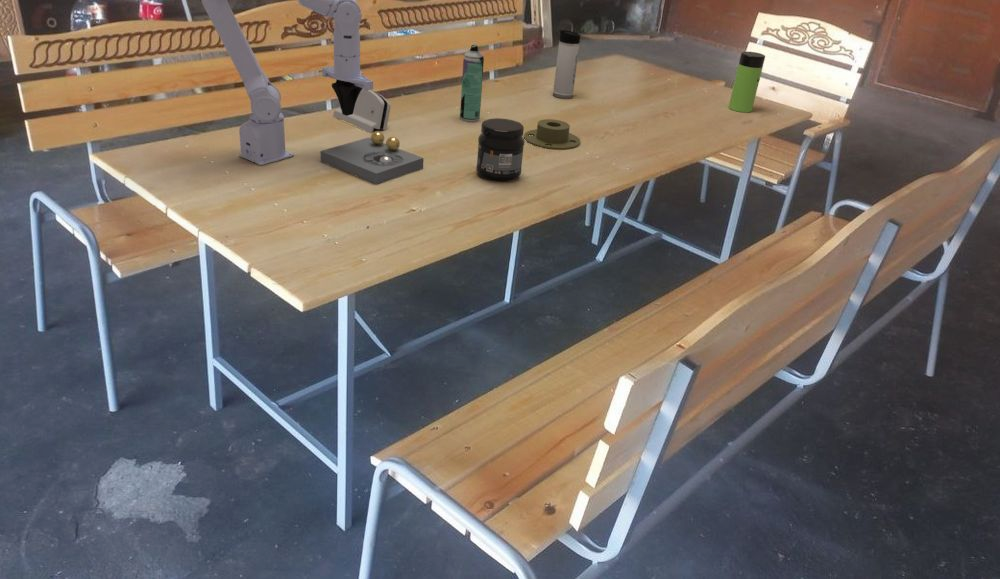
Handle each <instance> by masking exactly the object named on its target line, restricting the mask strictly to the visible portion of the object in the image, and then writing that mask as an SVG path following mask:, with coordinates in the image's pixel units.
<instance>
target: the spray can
mask: <svg viewBox="0 0 1000 579" xmlns="http://www.w3.org/2000/svg"><path fill="white" fill-rule="evenodd" d="M478 48H479V46H478V45H477V44H471V48H470V49H469V50H468V51H467V52H464V54H463V58H462V60H463V61H462V79H461V93H460V94H461V96H460V111H459V120H460V121H462V122H465V123H478V122H479V121H480V118H481V106H482V105H481V104H482V90H483V79H484V78H483V77H484V64H485V58H484V57H485V54H483V53H481V52H480V50H479V49H478Z"/></svg>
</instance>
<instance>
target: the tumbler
mask: <svg viewBox="0 0 1000 579" xmlns="http://www.w3.org/2000/svg"><path fill="white" fill-rule="evenodd" d="M765 59H766V55H765V54H763V53H761V52H755V51H741V53H740V56H739V61H738V65H737V70H736V74H735V78H734V81H733V82H734V83H733V87H732V91H731V94H730V95H731V96H730V100H729V104H728V108H729V109H730V110H732V111H734V112H739V113H751V112H752V111H753V107H754V103H755V99H756V95H757V92H758V87H759V83H760V80H761V75H762V72H763V68H764V65H765V64H764V62H765Z"/></svg>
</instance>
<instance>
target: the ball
mask: <svg viewBox="0 0 1000 579" xmlns="http://www.w3.org/2000/svg"><path fill="white" fill-rule="evenodd" d="M390 161H392V159H391V158H390V157H389V156H383V157H381V158H380V159H379V162H390Z"/></svg>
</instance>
